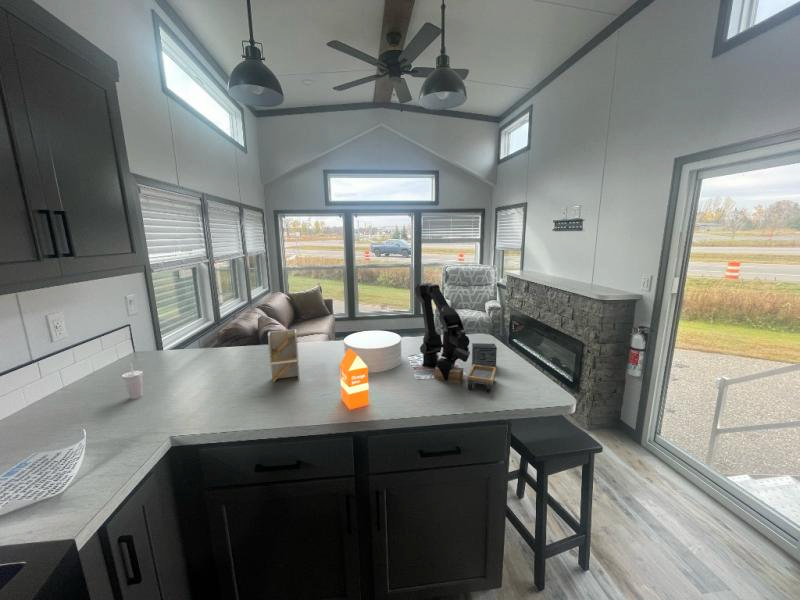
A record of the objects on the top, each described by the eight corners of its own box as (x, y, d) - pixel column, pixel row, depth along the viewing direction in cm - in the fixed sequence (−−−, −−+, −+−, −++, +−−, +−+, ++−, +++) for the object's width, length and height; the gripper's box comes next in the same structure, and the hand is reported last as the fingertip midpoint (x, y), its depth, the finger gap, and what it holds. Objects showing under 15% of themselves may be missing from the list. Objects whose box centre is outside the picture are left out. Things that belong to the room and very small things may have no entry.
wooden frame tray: (466, 390, 131) (467, 376, 129) (472, 376, 143) (473, 363, 142) (491, 394, 127) (492, 380, 126) (495, 379, 140) (496, 367, 139)
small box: (493, 363, 157) (494, 343, 155) (496, 369, 150) (497, 347, 148) (471, 363, 158) (472, 342, 156) (473, 368, 151) (473, 347, 149)
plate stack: (400, 350, 177) (400, 330, 174) (402, 371, 149) (402, 347, 147) (348, 351, 176) (347, 331, 173) (341, 373, 148) (339, 349, 146)
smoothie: (130, 402, 124) (123, 367, 121) (123, 398, 127) (116, 364, 124) (149, 395, 129) (143, 362, 126) (142, 391, 132) (136, 358, 130)
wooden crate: (272, 379, 143) (267, 323, 138) (299, 376, 146) (295, 321, 141) (270, 387, 136) (265, 328, 131) (299, 383, 139) (295, 325, 134)
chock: (459, 383, 137) (459, 372, 136) (434, 378, 142) (435, 367, 141) (463, 379, 141) (463, 368, 140) (439, 374, 146) (439, 363, 145)
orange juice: (349, 409, 117) (346, 356, 113) (341, 399, 125) (338, 349, 121) (369, 404, 121) (367, 352, 117) (360, 394, 128) (358, 345, 124)
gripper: (464, 351, 126) (463, 388, 130) (472, 337, 143) (471, 370, 147) (436, 348, 131) (436, 384, 134) (447, 334, 148) (447, 367, 151)
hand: (448, 376), depth 141 cm, fingers open, 9 cm apart
